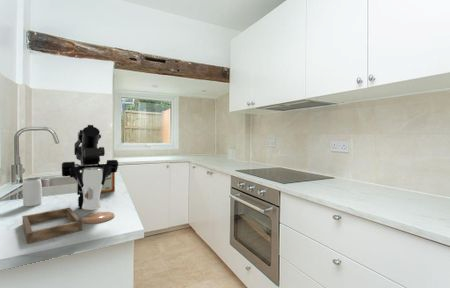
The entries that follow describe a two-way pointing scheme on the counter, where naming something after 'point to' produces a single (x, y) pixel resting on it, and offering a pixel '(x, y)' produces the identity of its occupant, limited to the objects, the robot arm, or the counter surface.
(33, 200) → the can
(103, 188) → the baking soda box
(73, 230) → the wooden frame
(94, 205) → the silver metal cup
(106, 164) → the robot arm
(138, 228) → the counter surface
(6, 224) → the counter surface
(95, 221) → the terracotta saucer
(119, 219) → the counter surface
